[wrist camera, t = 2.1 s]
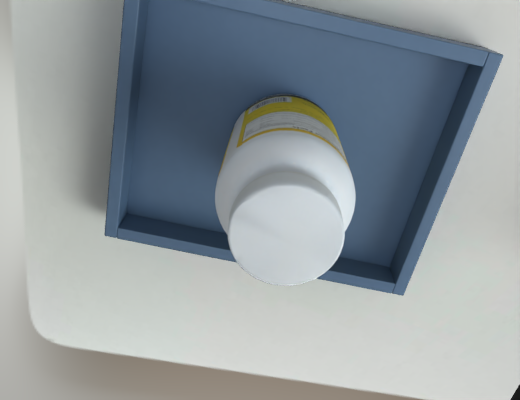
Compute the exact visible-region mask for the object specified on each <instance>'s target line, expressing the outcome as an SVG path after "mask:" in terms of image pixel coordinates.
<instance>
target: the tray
mask: <svg viewBox="0 0 520 400" xmlns="http://www.w3.org/2000/svg"><path fill="white" fill-rule="evenodd" d="M502 58H503V55H502V54H500V53H497V52H495V51H492V50H490V49H488V48H484V47H480V46H475V45H471V44H467V43H463V42H458V41H454V40H450V39H445V38H441V37H437V36H432V35H428V34H424V33H419V32H415V31H411V30H406V29H402V28H398V27H393V26H389V25H385V24H380V23H376V22H372V21H367V20H363V19H359V18H354V17H350V16H346V15H341V14H337V13H333V12H328V11H324V10H320V9H315V8H311V7H307V6H303V5H298V4H294V3H290V2H285V1H281V0H124V8H123V20H122V32H121V44H120V56H119V68H118V80H117V92H116V104H115V116H114V128H113V140H112V152H111V164H110V176H109V188H108V200H107V212H106V224H105V236H109V237H114V238H118V239H123V240H128V241H133V242H138V243H143V244H148V245H153V246H158V247H163V248H168V249H173V250H178V251H183V252H188V253H193V254H198V255H203V256H208V257H213V258H218V259H223V260H228V261H233V262H237V261H236V260H235V258H234V257H233V254H232V252H231V250H230V247H229V243H228V235H227V234H226V232H225V231H224V229H223V227H222V225H221V223H220V221H219V218H218V215H217V211H216V206H215V189H216V184H217V179H218V175H219V172H220V169H221V165H222V162H223V159H224V155H225V152H226V149H227V146H228V143H229V140H230V136H231V133H232V130H233V127H234V125H235V123H236V121H237V120H238V118H239V117H240V115H241V114H242V113H243V112H244V111H245V110H246V109H247V108H248V107H249V106H250V105H252V104H253V103H255V102H256V101H258V100H260V99H262V98H265V97H268V96H272V95H277V94H292V95H298V96H301V97H304V98H306V99H309V100H311V101H312V102H314V103H316V104H317V105H318V106H320V107H321V108H322V109H323V110H324V111H325V112H326V114H327V115H328V116H329V118H330V119H331V121H332V122H333V124H334V127H335V129H336V132H337V135H338V137H339V140H340V143H341V146H342V148H343V151H344V154H345V157H346V160H347V163H348V165H349V168H350V171H351V174H352V177H353V181H354V185H355V194H356V200H355V208H354V213H353V216H352V219H351V221H350V223H349V225H348V227H347V229H346V231H345V238H344V244H343V248H342V250H341V253H340V255H339V257H338V259H337V260H336V262H335V263H334V264H333V265H332V267H331V268H330V269H329V270H327V271H326V272H325V273H324V274H322V275H321V276H319V277H318V278H317V279H322V280H327V281H332V282H337V283H342V284H347V285H352V286H357V287H362V288H367V289H372V290H377V291H382V292H387V293H393V294H398V295H404V292H405V290H406V288H407V285H408V283H409V280H410V278H411V276H412V273H413V271H414V268H415V266H416V264H417V261H418V259H419V256H420V254H421V252H422V249H423V247H424V245H425V242H426V240H427V237H428V235H429V233H430V230H431V228H432V225H433V223H434V221H435V218H436V216H437V213H438V211H439V209H440V206H441V204H442V201H443V199H444V197H445V194H446V192H447V189H448V187H449V185H450V182H451V180H452V177H453V175H454V173H455V170H456V168H457V165H458V163H459V161H460V158H461V156H462V154H463V151H464V149H465V146H466V144H467V142H468V139H469V137H470V134H471V132H472V130H473V127H474V125H475V122H476V120H477V118H478V115H479V113H480V110H481V108H482V106H483V103H484V101H485V98H486V96H487V94H488V91H489V89H490V86H491V84H492V82H493V79H494V77H495V75H496V72H497V70H498V67H499V65H500V63H501V60H502Z"/></svg>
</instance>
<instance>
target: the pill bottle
mask: <svg viewBox="0 0 520 400" xmlns="http://www.w3.org/2000/svg"><path fill="white" fill-rule="evenodd" d="M355 200H356V194H355V185H354V181H353V177H352V174H351V171H350V168H349V165H348V163H347V160H346V157H345V154H344V151H343V148H342V146H341V143H340V140H339V137H338V135H337V132H336V129H335V127H334V124H333V122H332V121H331V119H330V118H329V116H328V115H327V114H326V112H325V111H324V110H323V109H322V108H321V107H320V106H318V105H317V104H316V103H314V102H312V101H311V100H309V99H306V98H304V97H301V96H298V95H292V94H277V95H272V96H268V97H265V98H262V99H260V100H258V101H256V102H255V103H253V104H252V105H250V106H249V107H248V108H247V109H246V110H245V111H244V112H243V113H242V114H241V115H240V117H239V118H238V120H237V121H236V123H235V125H234V127H233V130H232V133H231V136H230V140H229V143H228V146H227V149H226V152H225V155H224V159H223V162H222V165H221V169H220V172H219V175H218V179H217V184H216V189H215V206H216V211H217V215H218V218H219V221H220V223H221V225H222V227H223V229H224V231H225V232H226V234H227V235H228V243H229V247H230V250H231V252H232V254H233V257H234V258H235V260H236V261H237V263H238V264H239V265H240V266H241V268H242V269H243V270H245V271H246V272H247V273H248V274H250V275H251V276H253V277H254V278H256V279H258V280H260V281H263V282H265V283H269V284H274V285H281V286H292V285H298V284H303V283H306V282H309V281H311V280H314V279H316V278H318V277H319V276H321V275H322V274H324V273H325V272H326V271H327V270H329V269H330V268H331V267H332V265H333V264H334V263H335V262H336V260H337V259H338V257H339V255H340V253H341V250H342V248H343V244H344V238H345V231H346V229H347V227H348V225H349V223H350V221H351V219H352V216H353V213H354V208H355Z"/></svg>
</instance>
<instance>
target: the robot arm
mask: <svg viewBox="0 0 520 400" xmlns="http://www.w3.org/2000/svg"><path fill="white" fill-rule="evenodd" d="M511 400H520V385H519V386H518V388H517V390H516V391H515V393H514V395H513V396H512V398H511Z"/></svg>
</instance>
